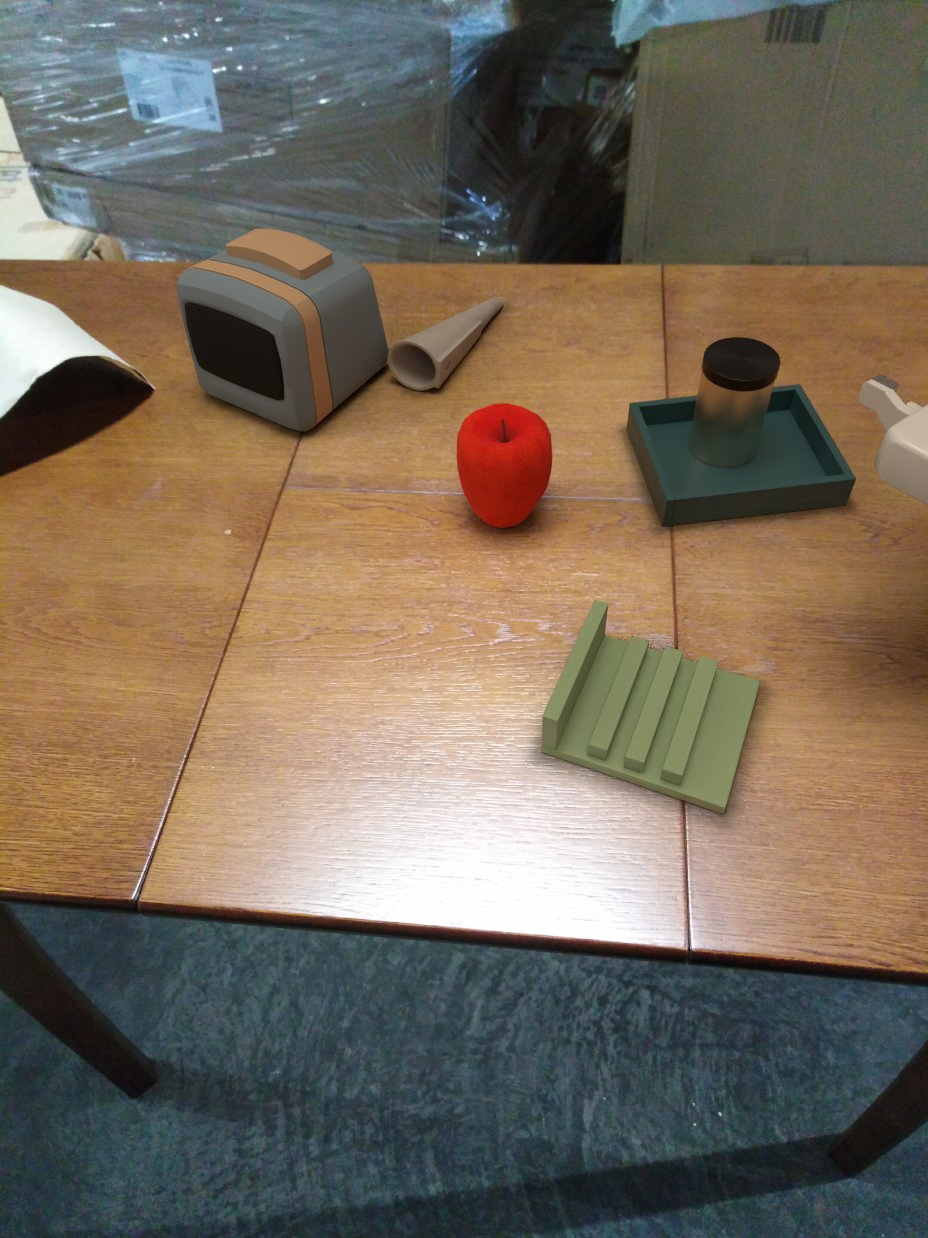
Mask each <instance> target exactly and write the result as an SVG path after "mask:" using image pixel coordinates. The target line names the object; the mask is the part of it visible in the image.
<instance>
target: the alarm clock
mask: <svg viewBox="0 0 928 1238" xmlns="http://www.w3.org/2000/svg"><path fill="white" fill-rule="evenodd" d="M176 286H177V287H176V295H177V299H178V304H179V309H180V313H181V317H182V322H183V326H184V330H185V334H186V338H187V343H188V347H189V351H190V354H191V358H192V362H193V365H194V369H195V374H196V377H197V380H198V383H199V385H200V386H201V389H202V390H203V391H204V392H205V393H207V394H208V395H210V396H212V397H215V398H217V399H219V400H222V401H224V402H227V403H228V404H231V405H233V406H236V407H238V408H240V409H243V410H245V411H247V412H249V413H250V412H251V413H253V414H255V415H256V416H260V417H262V418H264V419H267V420H269V421H271V422H274V423H276V424H278V425H281V426H283V427H285V428H288V429H290V430H293V431H295V432H303V433H305V432H307V431H309V430H311V429H313V428H314V427H315V426H317V424H319V423H320V422H322V420H323V419H324V418H326V417H327V416H328V415H329V414H330V413H331V412H333V411H334V410H335V409H336V408H338V406H340V404H342V403H343V402H345V400H346V399H347V398H349V397H350V396H352V394H354V392H356V391H357V390H358V389H359V388H360V387H361V386H363V385H364V384H365V383H366V382H368V381H369V380H370V379H371V378H372V377H373V376H375V374H377V373H378V372H379V371H380V370H381V369H382V368H384V367H385V366H386V365H387V364H388V361H387V355H388V351H389V346H388V341H387V337H386V333H385V328H384V324H383V320H382V315H381V311H380V307H379V301H378V299H377V294H376V290H375V285H374V281H373V277H372V275H371V273H370V271H369V269H368V268H366V266H364V265H363V264H362V263H360V262H358V261H357V260H355V259H352V258H351V257H348V256H346V255H344V254H342V253H339V252H337V251H334V250H332V249H329V248H327V247H325V246H323V245H321V244H319V243H318V242H315V241H313V240H311V239H309V238H307V237H304V236H301V235H299V234H296V233H294V232H289V231H286V230H285V231H284V230H280V229H273V228H272V229H271V228H254V229H253V230H250V231H249V232H247V233H244V234H243V235H241V236H239V237H238V238H235V239H233V240H231V241H229V242H228V243H226V244H225V250H223V251H221V252H218V253H216V254H214V255H212V256H210V257H208V258H206V259H204V260H201V261H199V262H198V263H196V264H194V265H192V266H190V267H188V268H186V269H184V271H183V272H182V273H181V274H180V275H179V277H178V278H177V285H176Z"/></svg>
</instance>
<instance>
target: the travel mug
mask: <svg viewBox="0 0 928 1238" xmlns="http://www.w3.org/2000/svg"><path fill="white" fill-rule="evenodd" d="M702 357H703V358H702V362H701V373H700V378H699V384H698V390H697V395H696V396H697V400H696V405H695V411H694V416H693V422H692V427H691V432H690V438H689V448H690V451H691V452H692V454H693V455H694V456H695V457H696V458H697V459H698V460H700V461H701V462H703V463H705V464H708V465H711V466H714V467H720V468H733V467H738V466H742V465H744V464H746V463H748V462H749V461H751V460H752V459H753V458H754V456H755V454H756V451H757V447H758V443H759V440H760V436H761V432H762V428H763V424H764V420H765V417H766V413H767V409H768V405H769V401H770V397H771V393H772V390H773V387H775V386H774V385H775V382H776V380H777V377H778V375H779V370H780V368H781V367H780V366H781V357H780V355H779V353H778V352H777V351H776V349H775V348H773V347H772V346H771V345H769V344H768V343H765V342H764V341H761V340H759V339H755V338H750V337H743V336H733V337H732V336H731V337H725V338H721V339H717V340H716V341H714V342H712V343H711V344H709V345H708V346H707V347H706V348H705V350H704V352H703V356H702Z"/></svg>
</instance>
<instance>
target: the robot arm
mask: <svg viewBox="0 0 928 1238" xmlns="http://www.w3.org/2000/svg"><path fill="white" fill-rule="evenodd" d="M899 386H900V383H899V382H897V381H896V380H893V379H891V378H887V376H886V375H884V374H878V375H876V376H874V377H872V378H870V379H869V380H867V381H864V382H863V383H862V385H861V387H860V390H859V393H858V396H857V399H858V402H859V403H860V405H862V406H864V407H866V408H867V409H869V410H870V411H873V412H874V413H876V416H877V417H878V419H879V422H880V423H881V425H882V427H883V428H884V430H885V434H884V436H883V439H882V441H881V444H880V445H879V448H878V451H877V454H876V456H875V460H874V463H873V465H874V469H875V472H876V474H877V476H878V478H879V479H880V480H881V481H882V482H884V483H885V484H887V485H889V486H890V487H892V488H894V489H895V490H897V491H898V492H900V493H903V494H905V495H906V496H909V497H911V498H912V499H915V500H916V501H919V503H923V504H925V505H927V506H928V403H927V404H925V405H924V406H922V405H920V404H918V403H916V402H914V401H908V402H907V403H904V401H903V400H902V399H901V397H900V396H899V395H898V394H897V391H898V388H899Z"/></svg>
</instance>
